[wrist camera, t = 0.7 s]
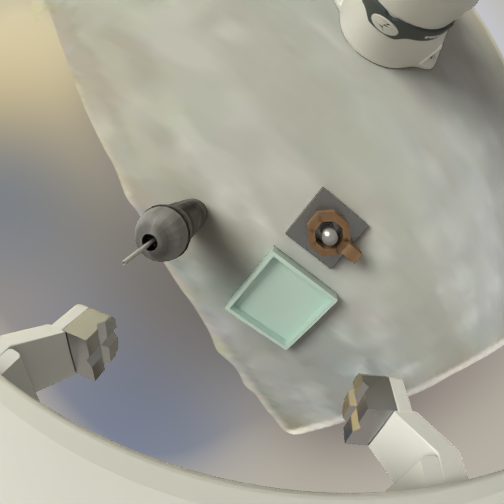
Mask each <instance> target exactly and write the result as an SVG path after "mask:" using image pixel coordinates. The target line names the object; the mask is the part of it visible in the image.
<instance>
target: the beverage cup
mask: <svg viewBox="0 0 504 504" xmlns="http://www.w3.org/2000/svg"><path fill="white" fill-rule="evenodd" d="M206 216H207V211H206V207H205V206H204V204H203V203H202V202H201V201H199V200H197V199H187V200H183V201H180V202H176V203H172V204H169V205H156V206H152V207H151V208H149V209H148V210H147V211H145V213H144V214H143V215H142V216H141V218H140V219H139V220H138V222H137V225H136V228H135V241H136V244H137V247H138V248H139V249H138V250H136V251H135V252H134V253H132V254H131V255H130V256H129V257H127V258H126V259H125V260H123V261H122V264H123V265H126V264H127V263H128V262H129V261H131V260H132V259H133V258H135V257H136V256H137V255H139V254H140V253H142V254H143V255H144V256H146V257H147V258H149V259H151V260H153V261H158V262H164V261H170V260H172V259H175V258H177V257H179V256H181V255H182V254H183V253H184V252H185V251H186V249H187V248H188V245H189V242H190V239H191V238H192V237H193V235H194V234H195V233H196V232H197V230H198V229H199V228H200V227H201V225H202V224H203V222H204V221H205V219H206Z"/></svg>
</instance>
